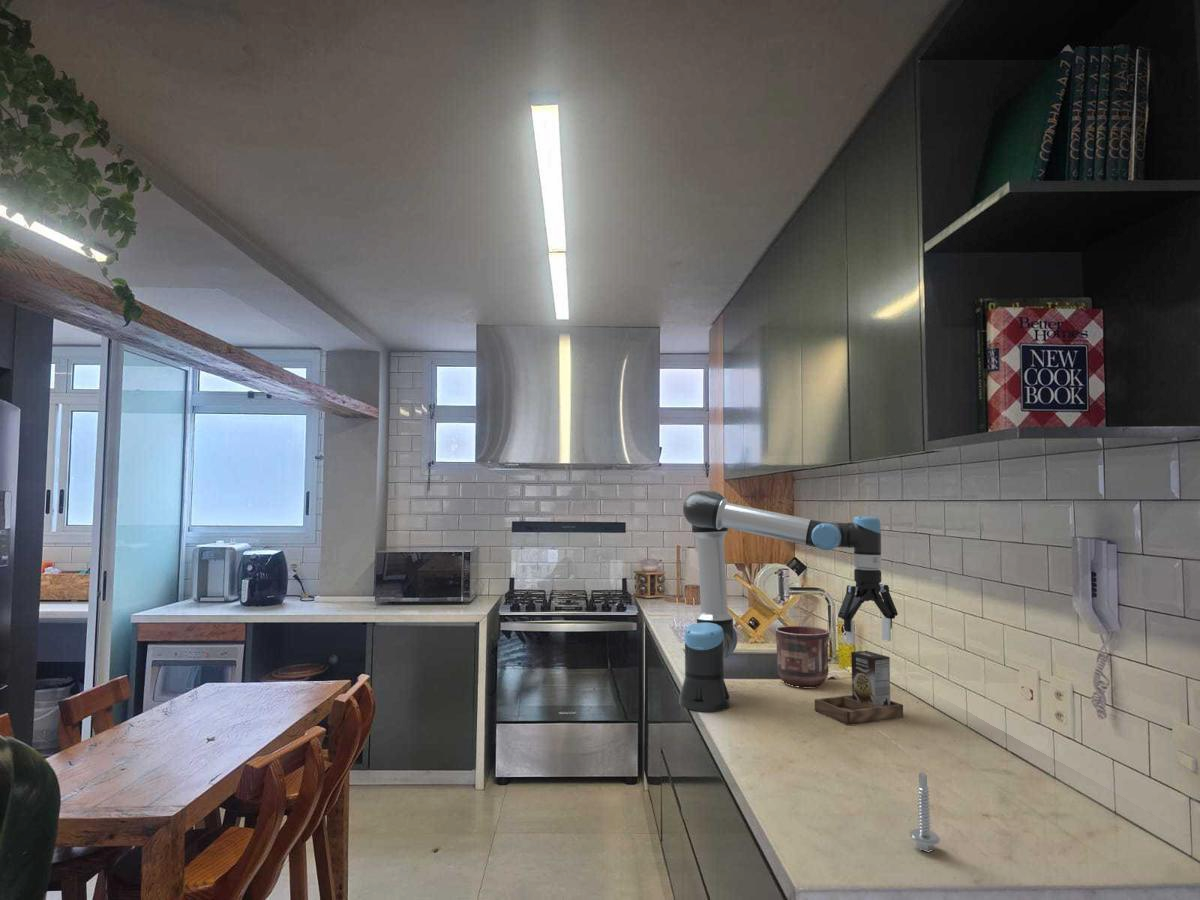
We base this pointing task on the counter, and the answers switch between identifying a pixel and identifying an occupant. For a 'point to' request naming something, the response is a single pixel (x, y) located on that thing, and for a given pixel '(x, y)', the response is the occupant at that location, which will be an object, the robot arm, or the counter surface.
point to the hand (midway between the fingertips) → (868, 641)
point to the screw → (924, 819)
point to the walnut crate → (856, 710)
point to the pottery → (802, 655)
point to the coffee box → (870, 678)
